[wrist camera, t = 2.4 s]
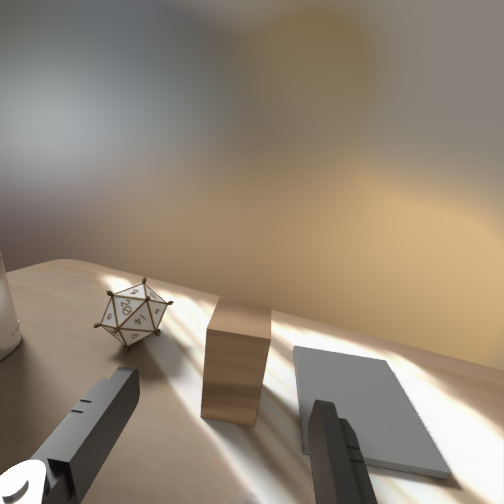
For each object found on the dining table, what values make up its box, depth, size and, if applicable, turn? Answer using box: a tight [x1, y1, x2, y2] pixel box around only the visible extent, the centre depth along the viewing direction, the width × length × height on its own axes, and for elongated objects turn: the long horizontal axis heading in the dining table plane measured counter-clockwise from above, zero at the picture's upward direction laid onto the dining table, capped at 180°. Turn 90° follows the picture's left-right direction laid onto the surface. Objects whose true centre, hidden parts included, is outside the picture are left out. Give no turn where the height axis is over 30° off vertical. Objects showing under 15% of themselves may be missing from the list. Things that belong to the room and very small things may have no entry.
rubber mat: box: [293, 346, 451, 479], centre depth 27 cm, size 13×13×1 cm
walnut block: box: [201, 296, 271, 427], centre depth 24 cm, size 6×6×11 cm
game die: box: [93, 277, 173, 354], centre depth 31 cm, size 9×8×10 cm
